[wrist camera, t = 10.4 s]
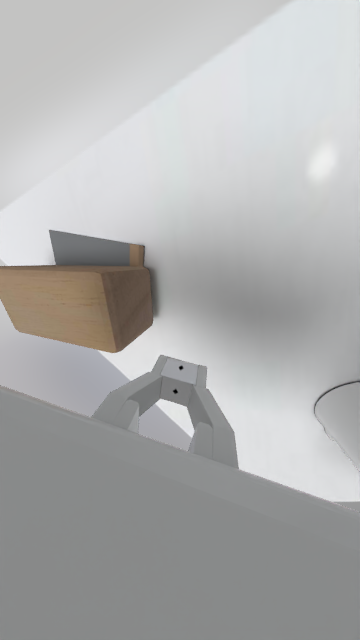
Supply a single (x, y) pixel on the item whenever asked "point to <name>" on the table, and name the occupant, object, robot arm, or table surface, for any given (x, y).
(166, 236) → the table surface
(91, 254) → the mat
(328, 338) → the table surface
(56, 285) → the wooden block
